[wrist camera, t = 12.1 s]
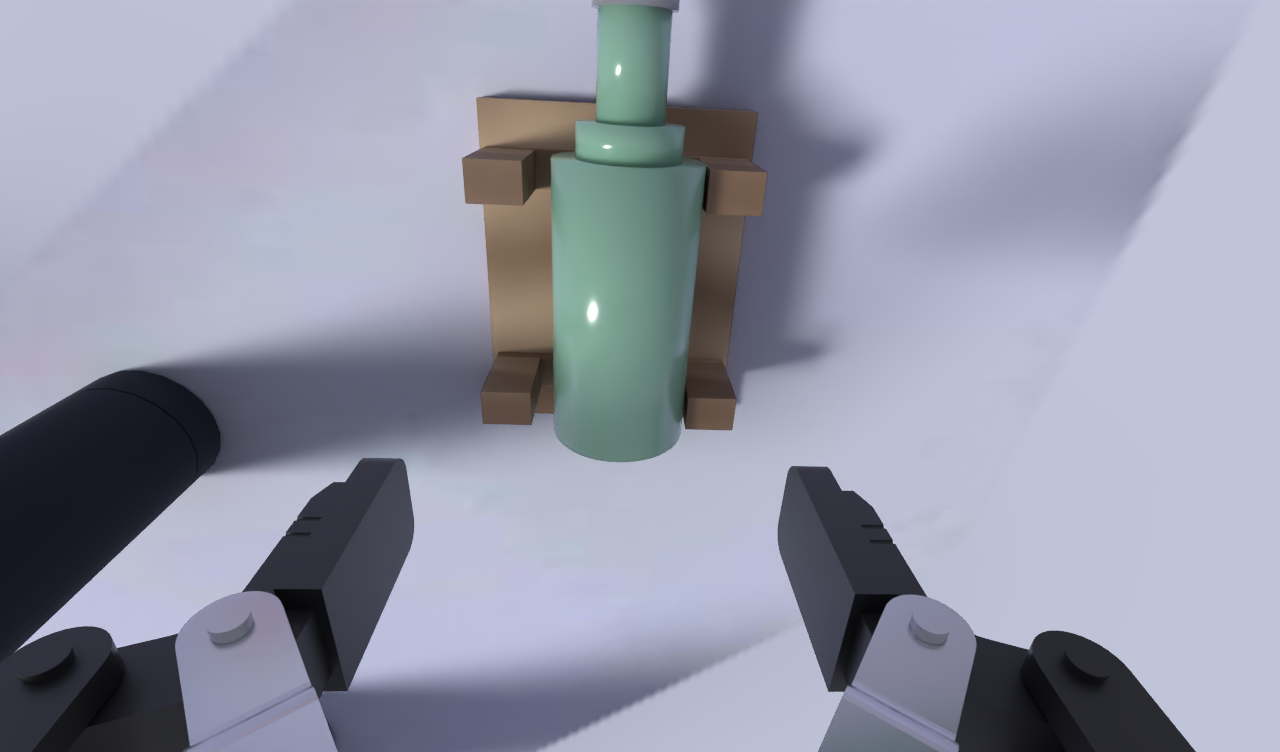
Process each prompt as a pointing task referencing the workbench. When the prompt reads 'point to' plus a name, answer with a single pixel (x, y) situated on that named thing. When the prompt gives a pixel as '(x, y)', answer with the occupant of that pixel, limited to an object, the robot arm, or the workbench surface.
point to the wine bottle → (90, 487)
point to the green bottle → (624, 249)
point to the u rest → (522, 248)
